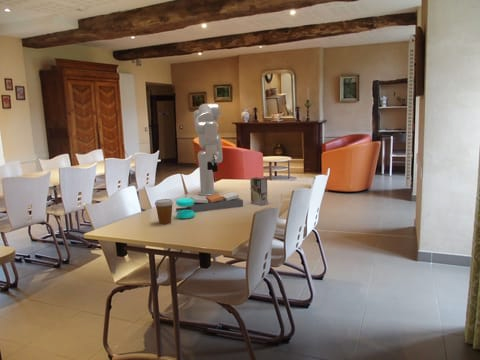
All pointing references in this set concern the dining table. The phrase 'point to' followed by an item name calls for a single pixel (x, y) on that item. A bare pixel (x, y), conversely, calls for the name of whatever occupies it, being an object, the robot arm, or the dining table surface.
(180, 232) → the dining table surface
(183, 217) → the donuts
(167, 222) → the disposable coffee cup
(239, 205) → the long grey tray
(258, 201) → the coffee box
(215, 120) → the robot arm
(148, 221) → the dining table surface
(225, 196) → the rocker far grey
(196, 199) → the rocker near grey
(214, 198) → the rocker middle orange
